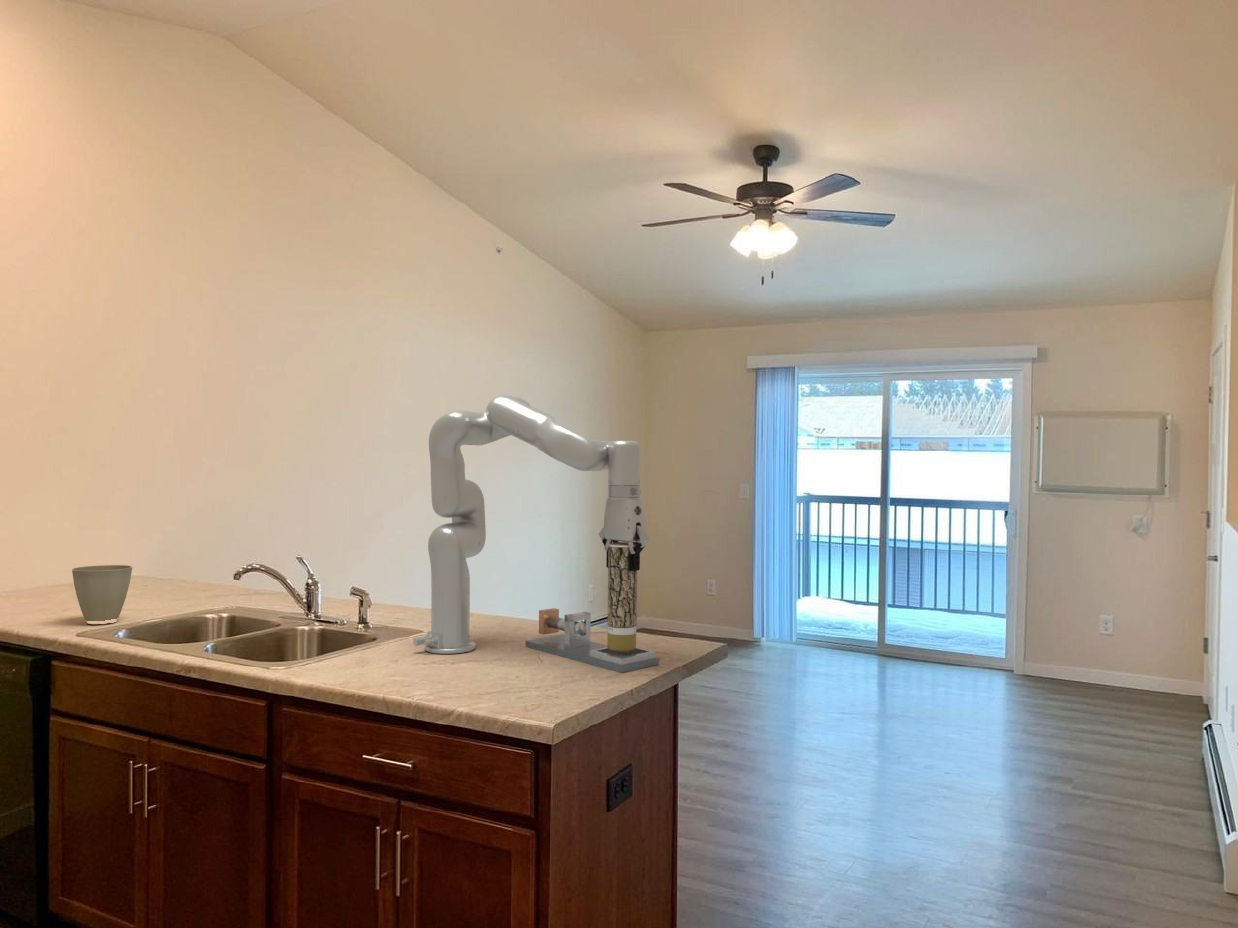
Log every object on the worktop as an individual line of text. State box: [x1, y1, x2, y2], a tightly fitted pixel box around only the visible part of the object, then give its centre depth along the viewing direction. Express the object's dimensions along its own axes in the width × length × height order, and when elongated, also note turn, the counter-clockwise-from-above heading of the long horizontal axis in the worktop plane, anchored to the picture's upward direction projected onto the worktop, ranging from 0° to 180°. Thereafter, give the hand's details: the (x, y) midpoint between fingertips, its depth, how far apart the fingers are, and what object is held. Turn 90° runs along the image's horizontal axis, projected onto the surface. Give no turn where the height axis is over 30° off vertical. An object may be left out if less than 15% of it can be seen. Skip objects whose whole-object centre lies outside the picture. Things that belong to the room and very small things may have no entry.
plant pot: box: [71, 564, 133, 622], centre depth 245 cm, size 15×15×16 cm
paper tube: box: [606, 541, 638, 652], centre depth 201 cm, size 7×7×25 cm
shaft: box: [538, 607, 586, 636], centre depth 217 cm, size 5×14×6 cm, turn 43°
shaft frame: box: [524, 611, 660, 674], centre depth 210 cm, size 12×36×10 cm, turn 43°
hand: (622, 568), depth 201 cm, fingers closed on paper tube, 6 cm apart
